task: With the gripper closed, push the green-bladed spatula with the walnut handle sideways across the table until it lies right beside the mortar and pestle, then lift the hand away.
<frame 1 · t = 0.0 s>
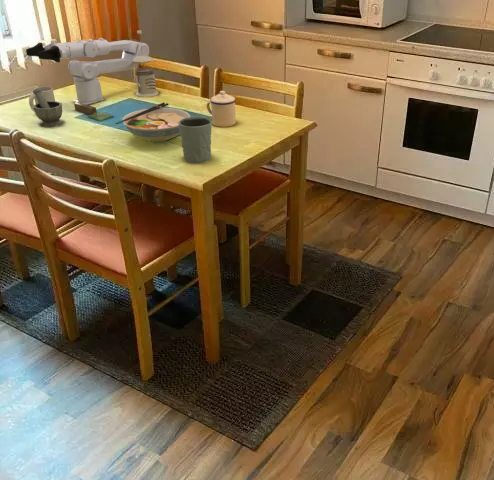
hand: (32, 54, 212), 22 cm above the table, tool horizontal, fingers open, 7 cm apart
ramen bowl: (159, 139, 202), on the table
spatula: (95, 115, 222), on the table
teacup with lid: (221, 123, 216), on the table
french press: (145, 94, 246), on the table
grey embossed tumbler: (198, 158, 187), on the table
mortar and pestle: (50, 124, 214), on the table
cup: (44, 113, 224), on the table
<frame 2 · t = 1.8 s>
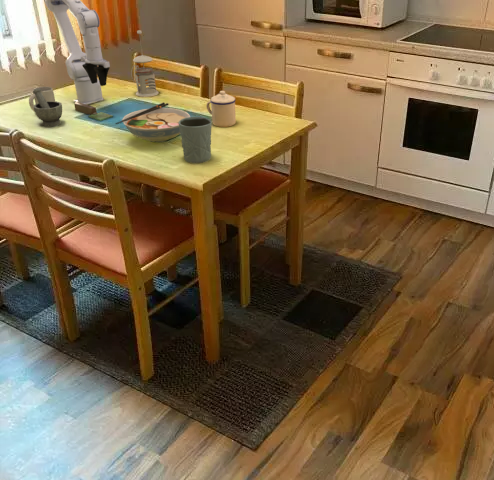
hand: (99, 84, 222), 10 cm above the table, tool pointing down, fingers open, 5 cm apart
nothing on the table moved.
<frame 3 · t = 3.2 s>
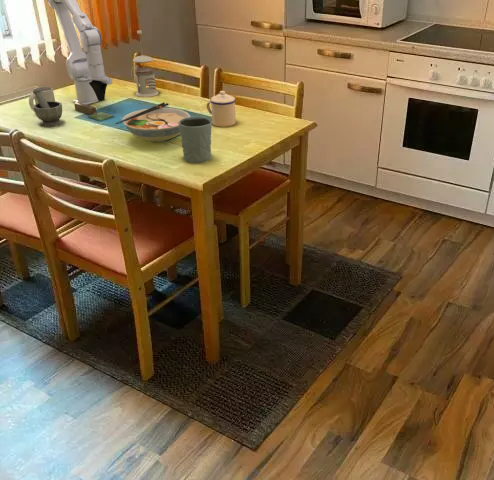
hand: (101, 100, 225), 4 cm above the table, tool pointing down, fingers closed
nothing on the table moved.
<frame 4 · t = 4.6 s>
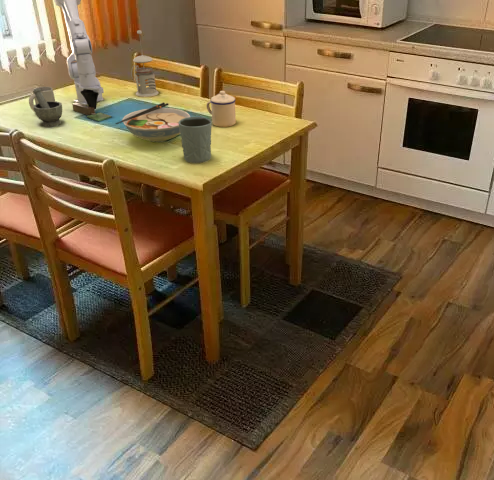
hand: (93, 109, 224), 1 cm above the table, tool pointing down, fingers closed, pressing on spatula
spatula: (93, 115, 222), on the table, touching gripper
everything else where it was.
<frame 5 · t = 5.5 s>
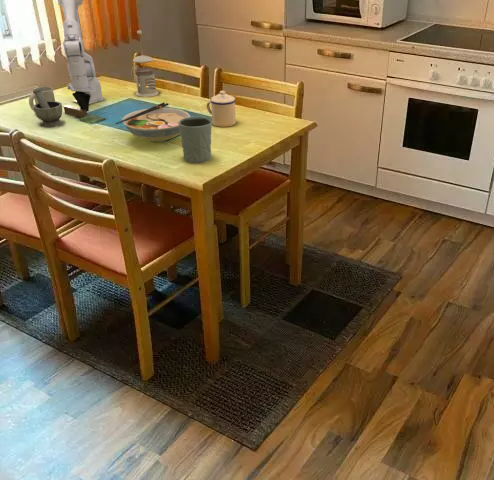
hand: (85, 111, 221), 1 cm above the table, tool pointing down, fingers closed, pressing on spatula
spatula: (86, 118, 219), on the table, touching gripper
everything else where it was.
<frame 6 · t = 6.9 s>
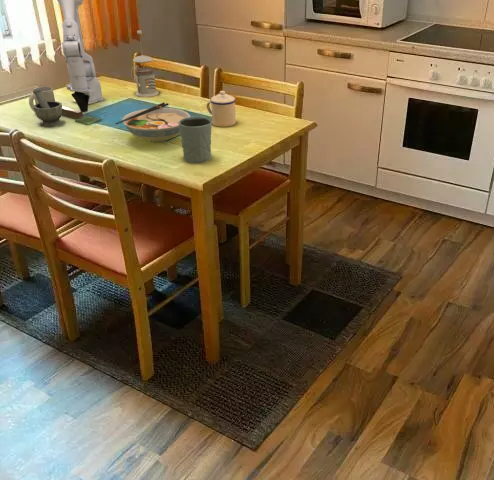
hand: (84, 111, 221), 1 cm above the table, tool pointing down, fingers closed
spatula: (81, 119, 218), on the table
everything else where it was.
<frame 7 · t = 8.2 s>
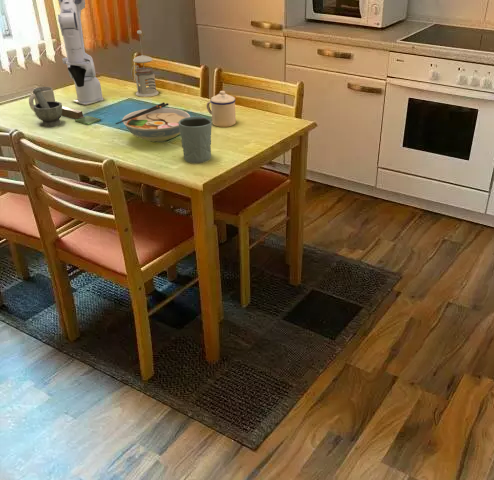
hand: (80, 86, 220), 10 cm above the table, tool pointing down, fingers closed
nothing on the table moved.
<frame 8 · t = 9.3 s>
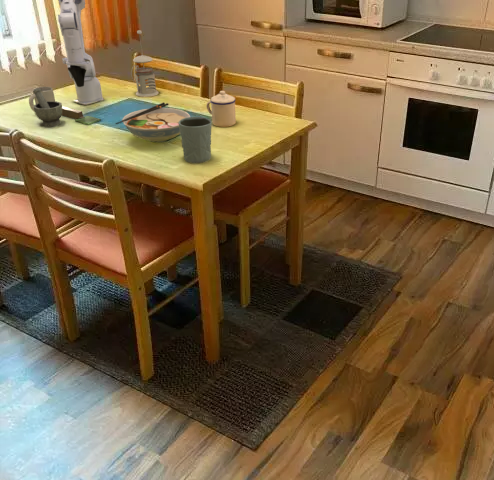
hand: (80, 86, 220), 10 cm above the table, tool pointing down, fingers closed
nothing on the table moved.
at the end: spatula 0.4 cm from the target spot, on the table; spatula 11.1 cm from the mortar and pestle (horizontally); mortar and pestle moved 0.2 cm from its start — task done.
